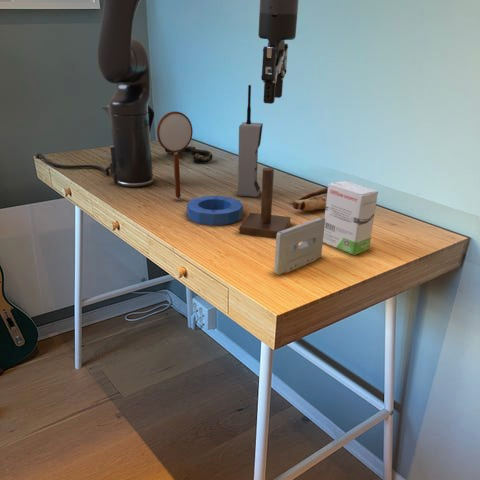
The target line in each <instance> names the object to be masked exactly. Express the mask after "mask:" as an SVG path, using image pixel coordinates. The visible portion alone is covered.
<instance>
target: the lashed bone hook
mask: <svg viewBox="0 0 480 480" xmlns="http://www.w3.org/2000/svg"><path fill="white" fill-rule="evenodd" d="M327 191H328V187H325V188H321V189H317V190H314V191H311V192H308V193H306V194H304V195H302V196H301V197H299V198H297V199H296V200H294V201H293V202H292V208H293V209H294V210H300V211H304V212H309V211H319V210H326V200H327Z"/></svg>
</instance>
